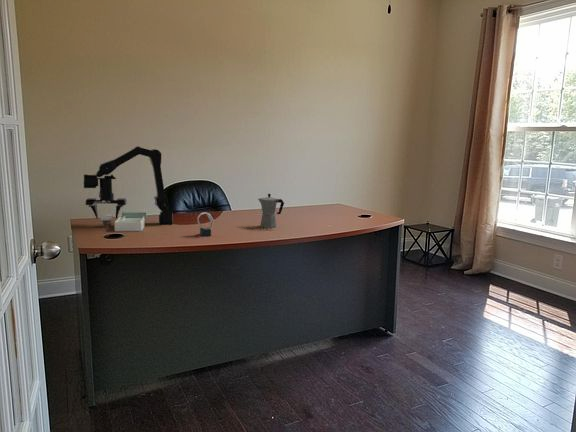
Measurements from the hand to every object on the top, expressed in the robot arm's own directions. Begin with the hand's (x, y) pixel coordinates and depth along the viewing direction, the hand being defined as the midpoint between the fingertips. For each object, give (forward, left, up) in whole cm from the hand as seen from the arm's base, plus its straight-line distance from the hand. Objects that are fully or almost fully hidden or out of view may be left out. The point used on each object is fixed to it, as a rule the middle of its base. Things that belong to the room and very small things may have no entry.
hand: (106, 218), depth 230 cm
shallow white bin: (-12, +5, -4) cm, 14 cm away
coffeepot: (-84, +3, -4) cm, 84 cm away
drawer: (-12, -4, -3) cm, 13 cm away
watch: (-49, +23, -4) cm, 54 cm away
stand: (0, 0, -4) cm, 4 cm away
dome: (0, 0, 0) cm, 1 cm away
